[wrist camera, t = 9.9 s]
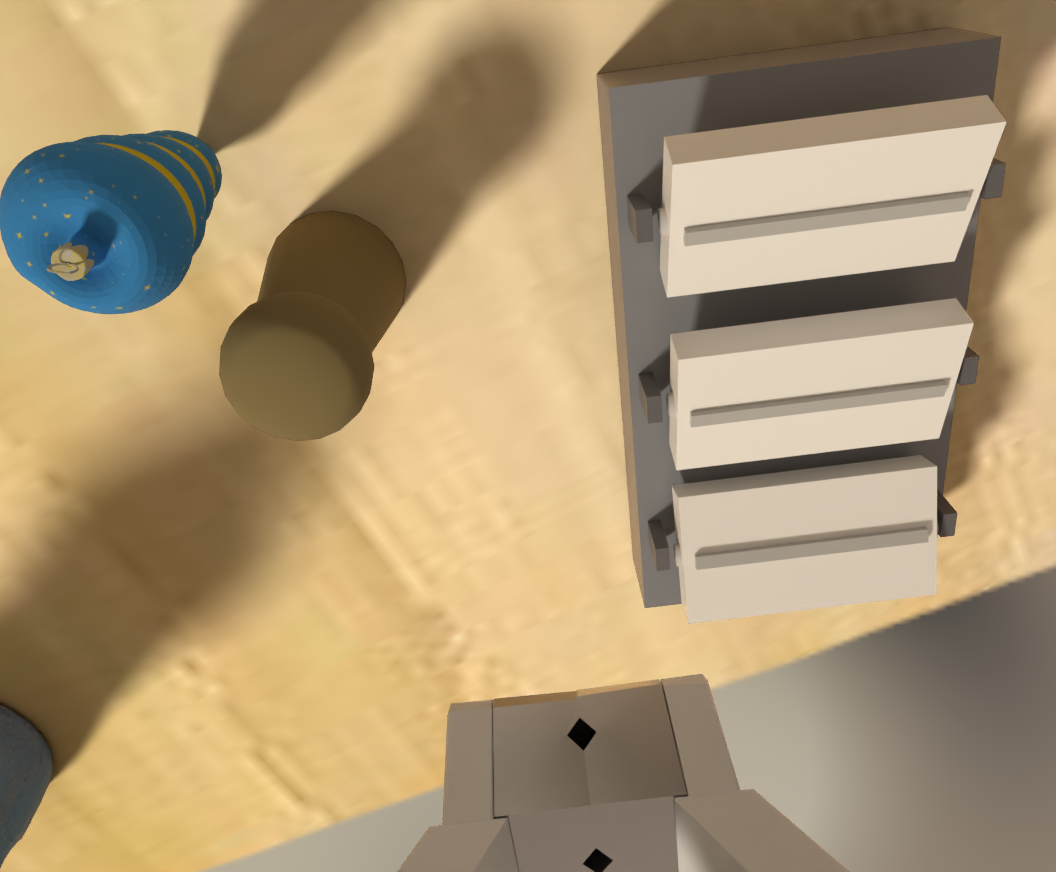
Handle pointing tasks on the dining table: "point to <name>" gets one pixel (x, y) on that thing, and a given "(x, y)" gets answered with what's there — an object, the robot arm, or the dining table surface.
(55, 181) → the ornament
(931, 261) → the panel
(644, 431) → the switch unit
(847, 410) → the rocker
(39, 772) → the bottle
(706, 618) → the grooved switch paddle
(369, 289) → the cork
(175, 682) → the dining table surface
